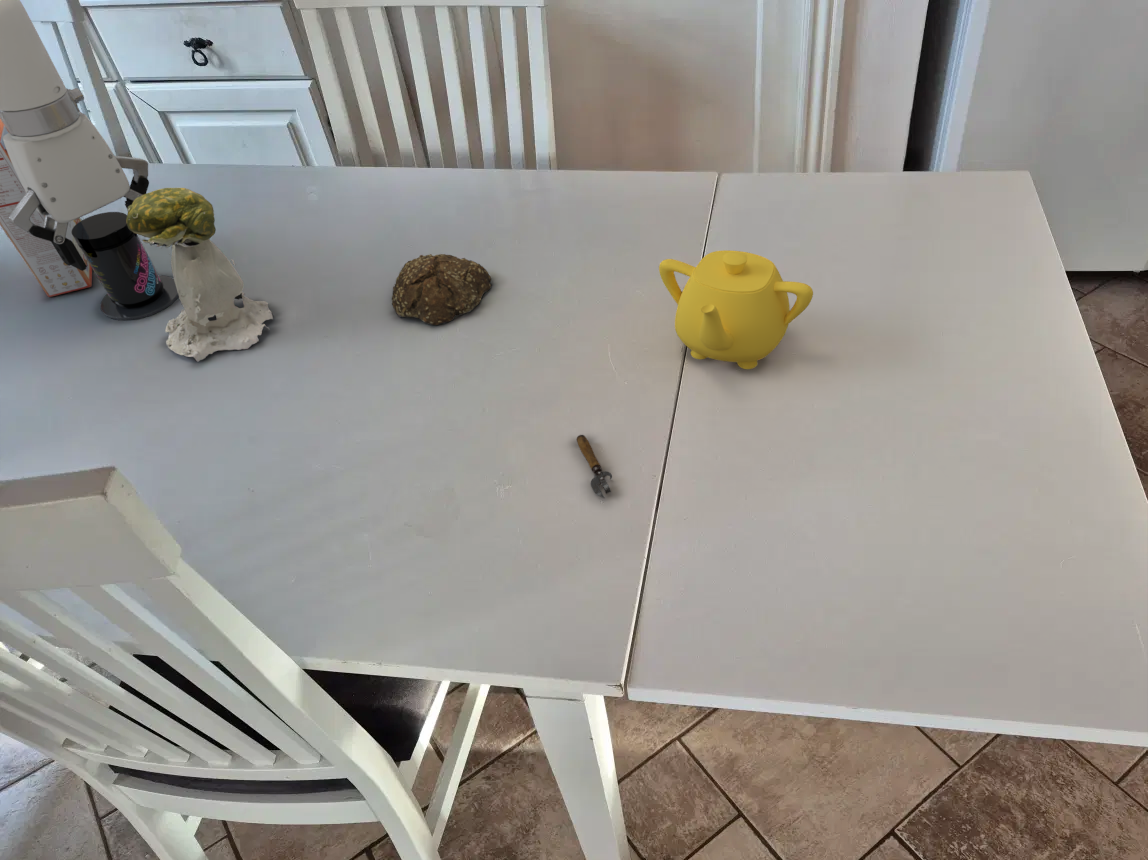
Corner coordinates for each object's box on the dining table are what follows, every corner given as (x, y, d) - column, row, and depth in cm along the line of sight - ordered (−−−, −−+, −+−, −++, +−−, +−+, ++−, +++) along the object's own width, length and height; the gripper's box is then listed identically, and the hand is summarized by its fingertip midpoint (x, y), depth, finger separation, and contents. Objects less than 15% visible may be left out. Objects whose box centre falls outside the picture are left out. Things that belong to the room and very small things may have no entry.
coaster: (129, 328, 108) (128, 326, 108) (86, 305, 112) (85, 303, 112) (196, 290, 113) (194, 288, 113) (152, 270, 118) (151, 267, 117)
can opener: (576, 442, 90) (575, 435, 89) (597, 438, 90) (596, 430, 89) (596, 502, 84) (595, 495, 83) (618, 497, 84) (618, 489, 83)
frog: (166, 318, 109) (93, 185, 96) (267, 291, 112) (210, 159, 99) (171, 369, 102) (93, 232, 88) (279, 338, 105) (219, 202, 92)
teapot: (649, 332, 103) (645, 245, 94) (750, 300, 107) (755, 214, 98) (702, 397, 94) (703, 308, 86) (810, 360, 98) (822, 271, 89)
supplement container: (139, 314, 109) (98, 243, 102) (101, 304, 111) (58, 233, 104) (177, 287, 114) (141, 216, 106) (140, 278, 116) (102, 208, 108)
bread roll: (414, 267, 115) (405, 234, 112) (499, 274, 113) (493, 241, 110) (375, 321, 107) (365, 288, 103) (467, 330, 105) (459, 296, 101)
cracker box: (51, 250, 122) (-39, 105, 107) (95, 240, 124) (13, 96, 109) (45, 300, 113) (-54, 149, 98) (93, 288, 115) (2, 138, 100)
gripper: (91, 81, 101) (156, 212, 114) (-55, 136, 92) (33, 273, 104) (127, 93, 98) (189, 226, 111) (-20, 152, 89) (66, 290, 101)
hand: (113, 248), depth 107 cm, fingers open, 9 cm apart
